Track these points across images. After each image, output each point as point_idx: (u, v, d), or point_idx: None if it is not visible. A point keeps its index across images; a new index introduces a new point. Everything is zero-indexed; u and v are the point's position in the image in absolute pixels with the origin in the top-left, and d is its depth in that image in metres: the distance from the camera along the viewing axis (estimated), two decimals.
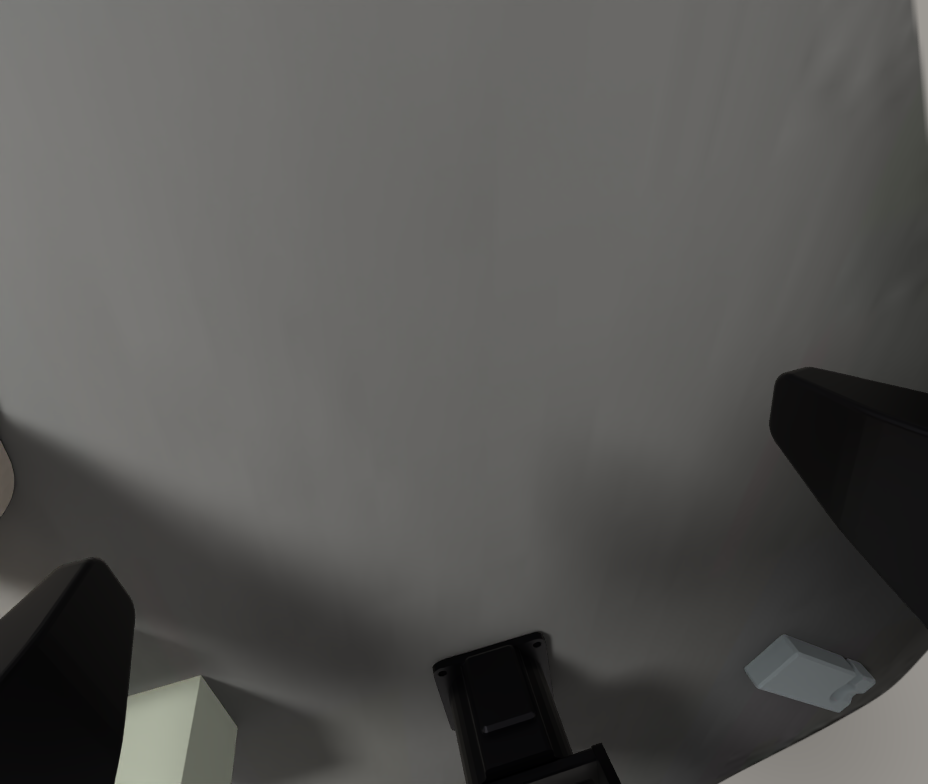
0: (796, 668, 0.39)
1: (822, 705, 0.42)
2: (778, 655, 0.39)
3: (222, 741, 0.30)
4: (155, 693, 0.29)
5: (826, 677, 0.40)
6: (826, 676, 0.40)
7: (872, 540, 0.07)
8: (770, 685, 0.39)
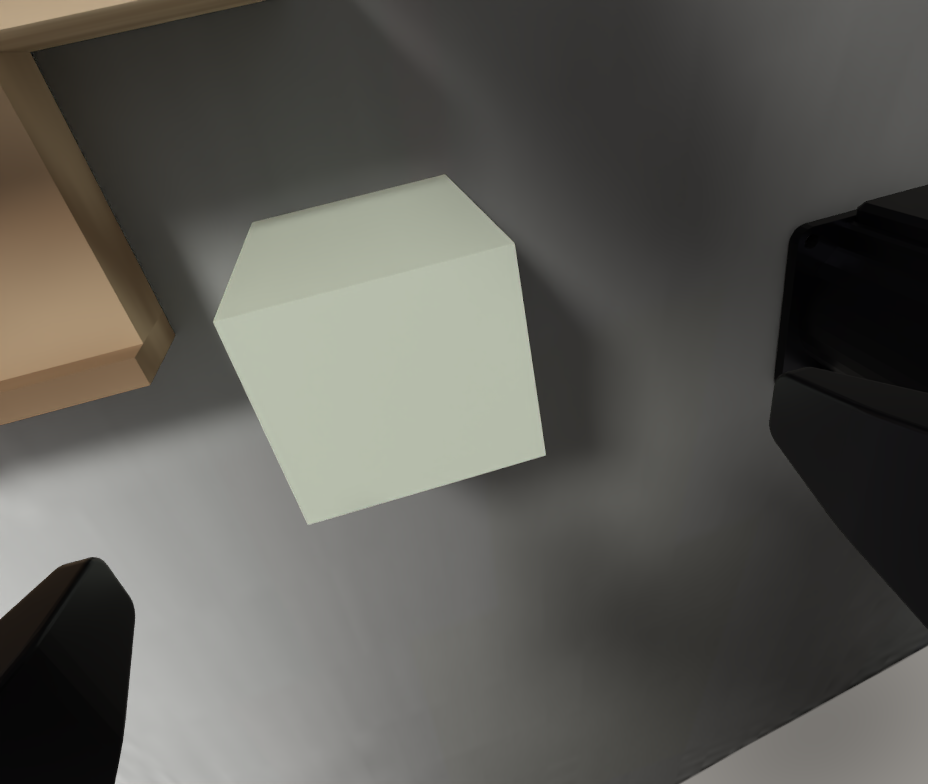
0: None
1: None
2: None
3: None
4: (370, 195, 0.16)
5: None
6: None
7: (872, 540, 0.07)
8: None
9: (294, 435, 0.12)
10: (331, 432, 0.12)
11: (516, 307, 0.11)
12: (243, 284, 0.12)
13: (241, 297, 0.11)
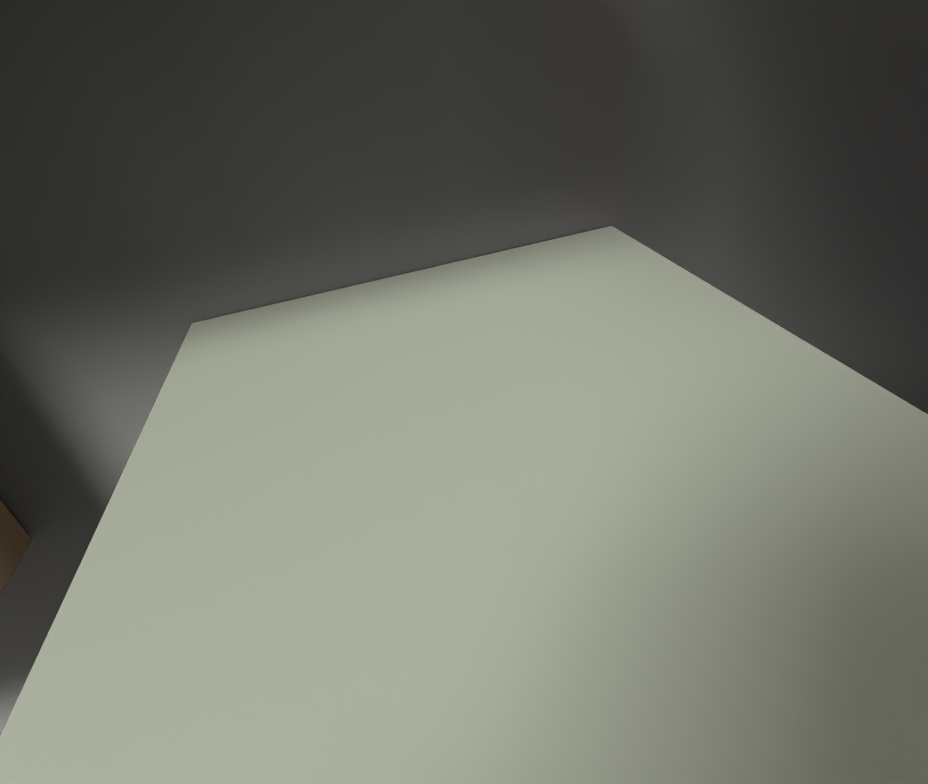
0: None
1: None
2: None
3: None
4: (457, 270, 0.07)
5: None
6: None
7: None
8: None
9: None
10: None
11: None
12: (59, 754, 0.03)
13: None
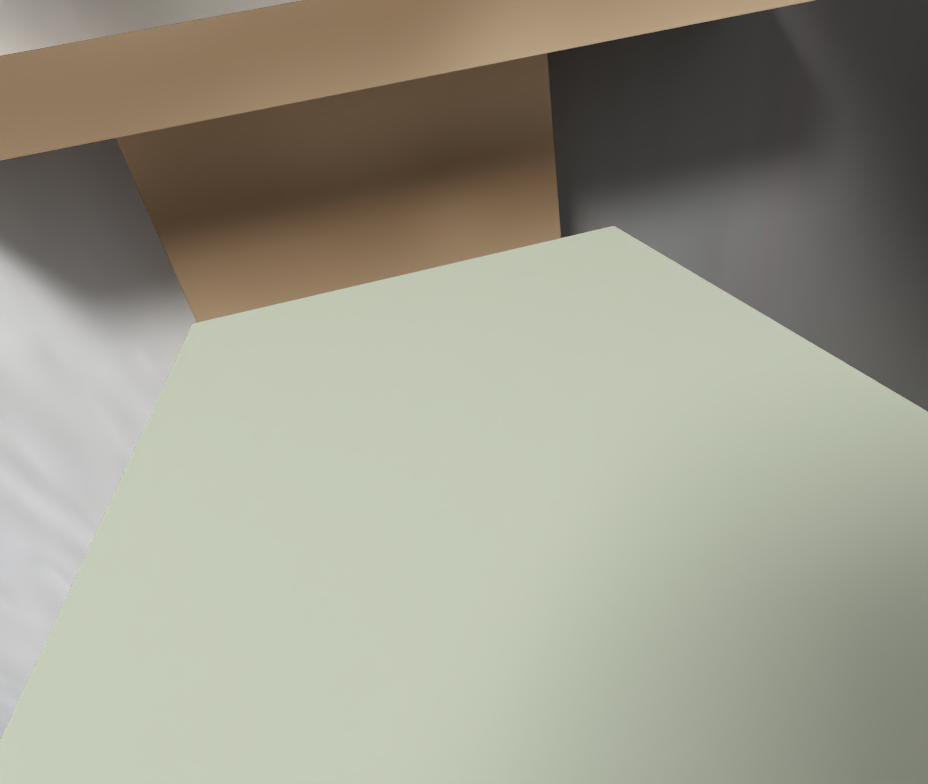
0: None
1: None
2: None
3: None
4: (459, 270, 0.07)
5: None
6: None
7: None
8: None
9: None
10: None
11: None
12: (59, 761, 0.03)
13: None
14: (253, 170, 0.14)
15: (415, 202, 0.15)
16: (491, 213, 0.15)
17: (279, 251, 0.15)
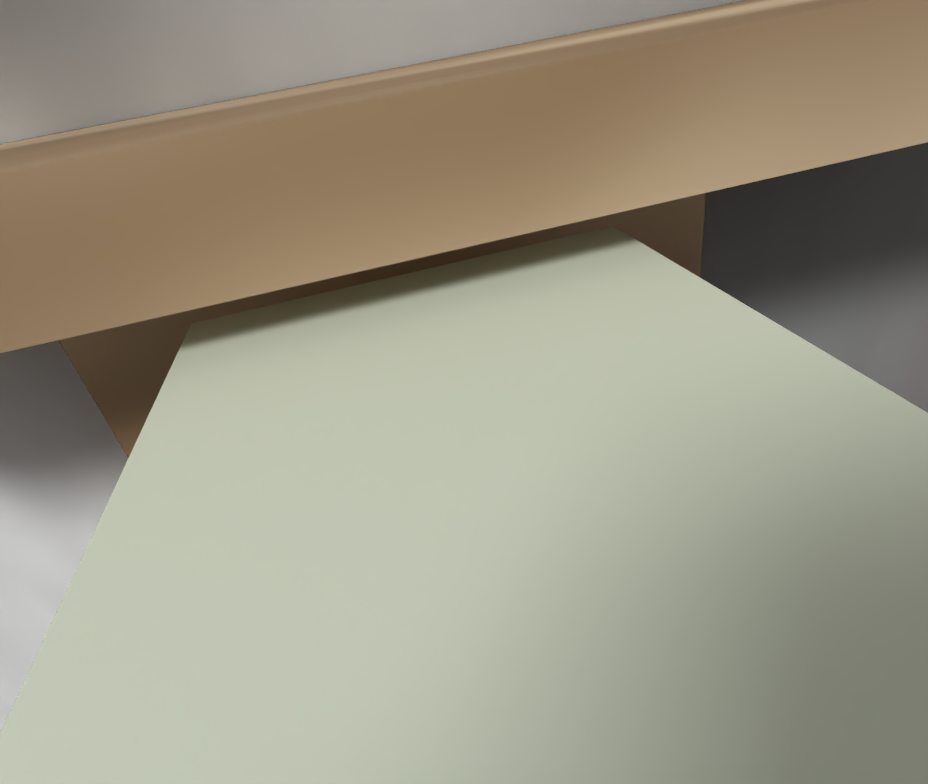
0: None
1: None
2: None
3: None
4: (458, 270, 0.07)
5: None
6: None
7: None
8: None
9: None
10: None
11: None
12: (55, 760, 0.03)
13: None
14: None
15: None
16: None
17: None
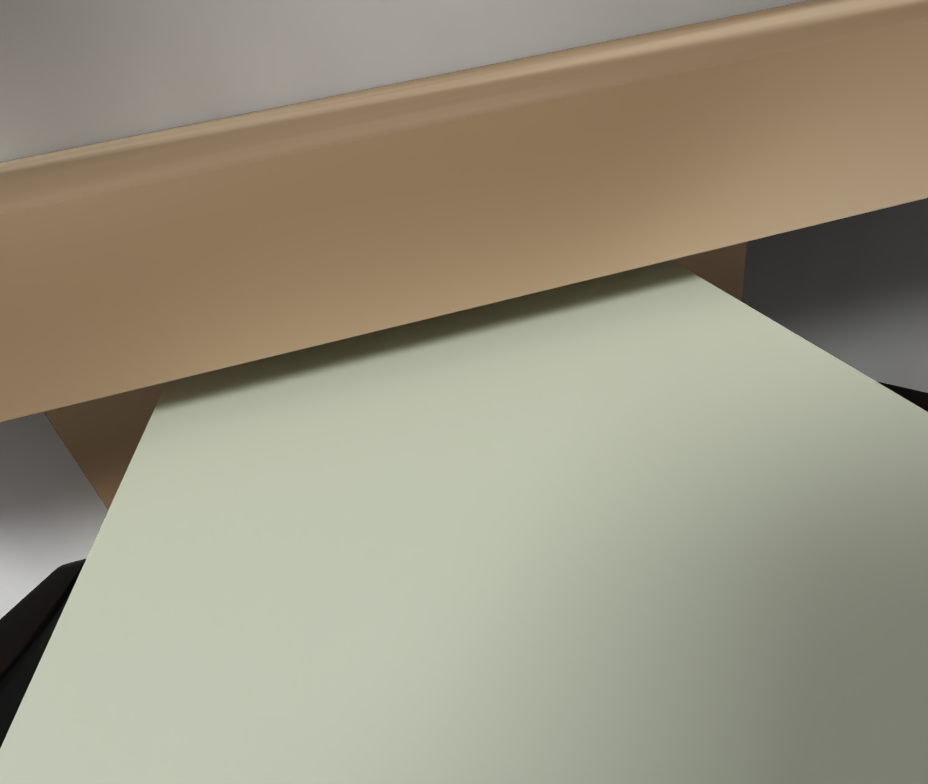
0: None
1: None
2: None
3: None
4: None
5: None
6: None
7: None
8: None
9: None
10: None
11: None
12: (83, 704, 0.03)
13: None
14: None
15: None
16: None
17: None
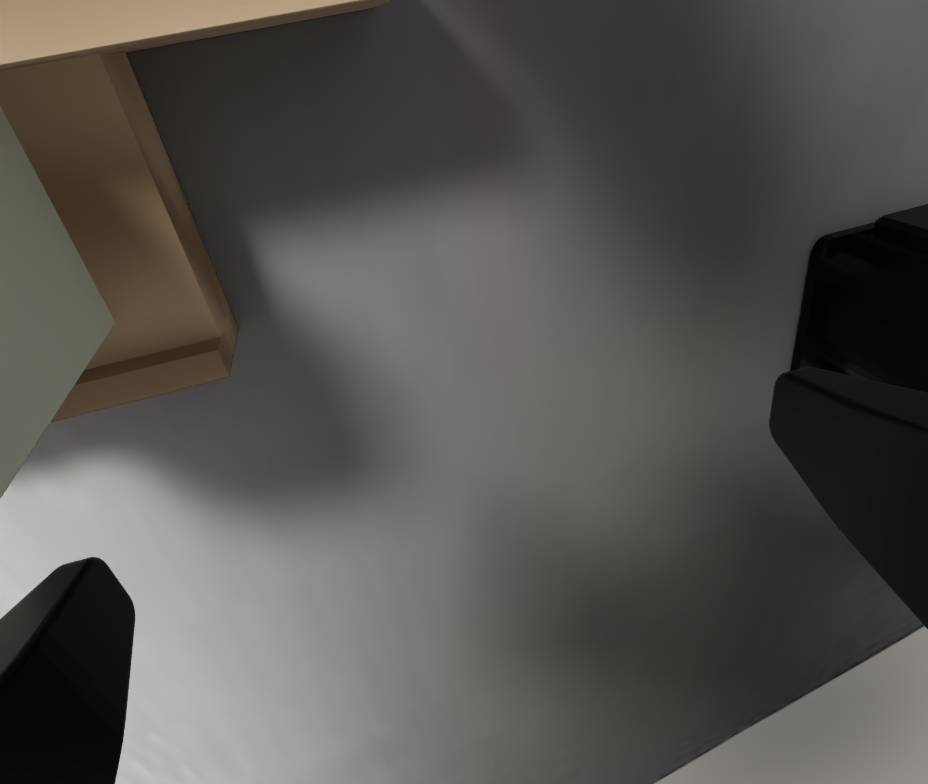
0: None
1: None
2: None
3: (58, 284, 0.12)
4: None
5: None
6: None
7: (872, 540, 0.07)
8: None
9: None
10: None
11: None
12: None
13: None
14: None
15: None
16: (92, 243, 0.13)
17: None
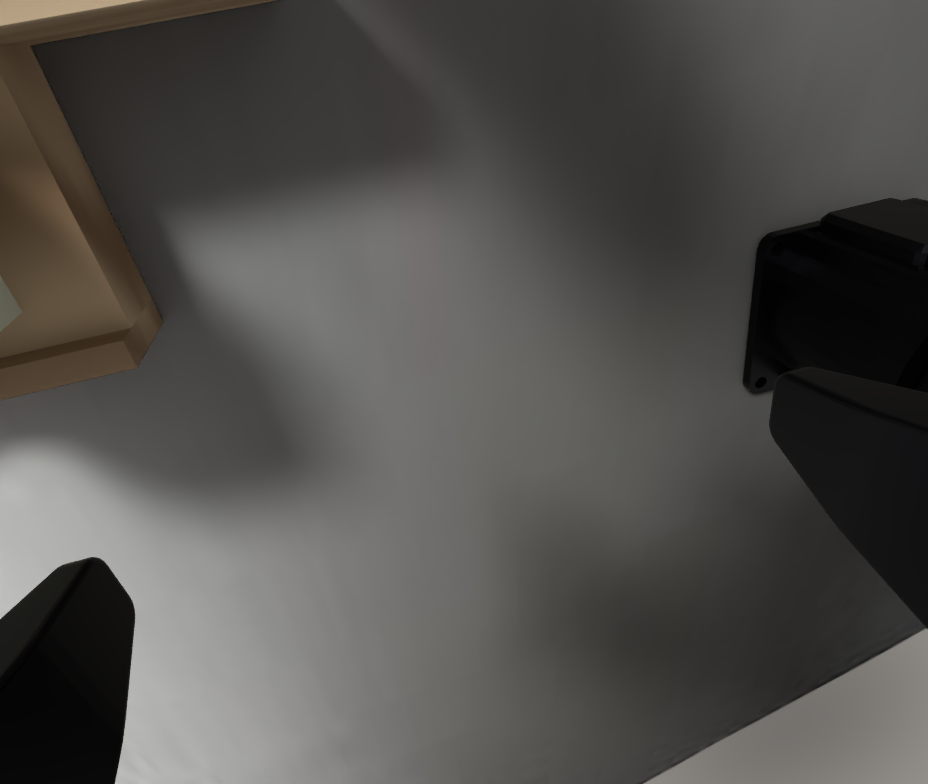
0: None
1: None
2: None
3: None
4: None
5: None
6: None
7: (872, 540, 0.07)
8: None
9: None
10: None
11: None
12: None
13: None
14: None
15: None
16: None
17: None
